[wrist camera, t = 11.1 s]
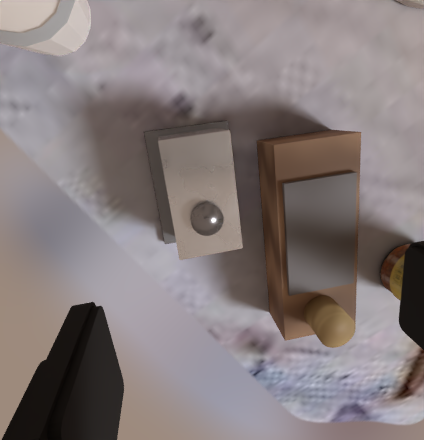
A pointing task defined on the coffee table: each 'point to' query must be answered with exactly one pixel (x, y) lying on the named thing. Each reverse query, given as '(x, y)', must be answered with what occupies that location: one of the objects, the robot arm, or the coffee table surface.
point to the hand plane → (311, 232)
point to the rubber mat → (158, 173)
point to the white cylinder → (45, 25)
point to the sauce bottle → (394, 270)
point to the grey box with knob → (201, 191)
